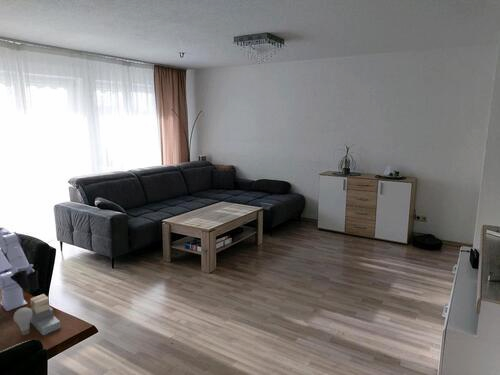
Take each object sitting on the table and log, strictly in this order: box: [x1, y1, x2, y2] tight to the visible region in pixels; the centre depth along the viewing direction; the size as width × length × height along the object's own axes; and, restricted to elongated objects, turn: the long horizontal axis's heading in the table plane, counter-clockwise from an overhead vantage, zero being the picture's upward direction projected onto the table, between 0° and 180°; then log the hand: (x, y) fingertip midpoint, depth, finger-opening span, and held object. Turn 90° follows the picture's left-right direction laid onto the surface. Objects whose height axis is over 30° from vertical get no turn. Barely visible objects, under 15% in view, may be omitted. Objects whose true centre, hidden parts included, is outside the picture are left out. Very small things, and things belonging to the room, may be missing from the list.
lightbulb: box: [13, 306, 33, 336], centre depth 137 cm, size 6×6×11 cm
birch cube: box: [29, 293, 51, 315], centre depth 144 cm, size 5×5×5 cm
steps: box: [28, 306, 62, 336], centre depth 144 cm, size 14×6×6 cm, turn 49°
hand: (31, 289), depth 146 cm, fingers open, 7 cm apart
